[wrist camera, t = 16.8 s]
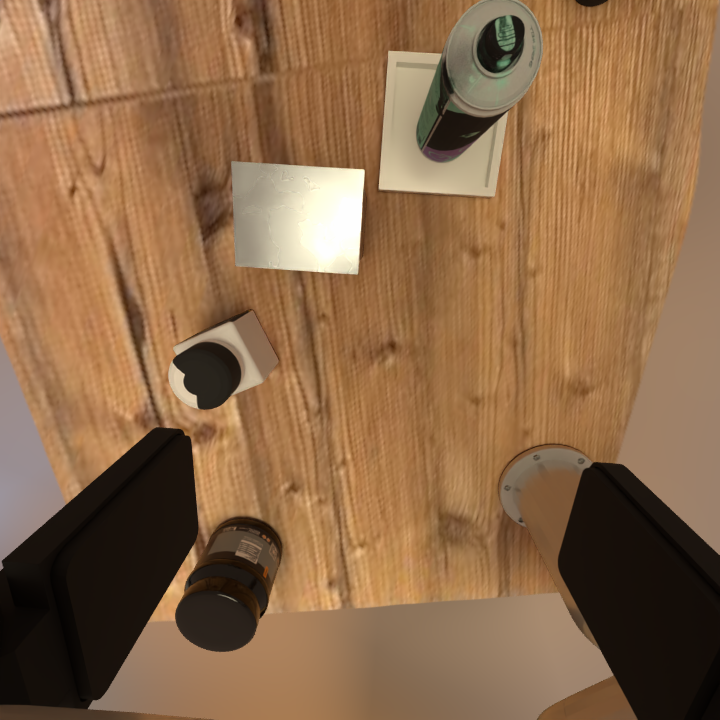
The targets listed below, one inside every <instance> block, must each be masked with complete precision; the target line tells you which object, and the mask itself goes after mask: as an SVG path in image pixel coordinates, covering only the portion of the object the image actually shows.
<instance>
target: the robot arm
mask: <svg viewBox="0 0 720 720" xmlns="http://www.w3.org/2000/svg"><path fill="white" fill-rule="evenodd" d="M498 493H499V498H500V502H501V504H502V506H503V508H504V510H505V512H506V513H507V515H508V516H509V517H510V518H511V519H512V520H513V521H515V522H516V523H517V524H519V525H521V526H524V527H526V528H527V529H528V531H529V533H530V535H531V537H532V539H533V541H534V543H535V545H536V547H537V549H538V551H539V553H540V555H541V557H542V559H543V561H544V563H545V565H546V567H547V569H548V571H549V573H550V575H551V577H552V579H553V581H554V583H555V585H556V587H557V589H558V591H559V592H560V594H561V596H562V598H563V600H564V602H565V604H566V607H567V609H568V611H569V613H570V615H571V616H572V619H573V620H574V622H575V623H576V625H577V626H578V628H579V629H580V630H581V632H582V633H583V634H584V635H585V637H586V638H588V639H589V640H590V641H591V642H592V643H593V644H594V645H595V646H596V647H597V648H599V649H600V650H601V652H602V654H603V656H604V658H605V659H606V661H607V663H608V665H609V667H610V669H611V671H612V673H613V674H614V675H613V676H612V677H610V678H608V679H605V680H603V681H601V682H599V683H597V684H595V685H592V686H590V687H588V688H586V689H584V690H582V691H579V692H577V693H575V694H573V695H571V696H569V697H567V698H565V699H563V700H561V701H559V702H557V703H555V704H554V705H552V706H550V707H548V708H547V709H546V710H544V711H543V712H542V713H541V714H540V715H539V717H538V718H537V720H720V555H718V553H716V552H715V551H714V550H713V549H712V548H711V547H710V546H709V545H708V544H707V543H706V542H705V541H704V540H703V539H702V538H701V537H700V536H698V535H697V534H696V533H695V532H694V531H693V530H692V529H691V528H690V527H689V526H688V525H687V524H686V523H685V522H684V521H683V520H681V519H680V518H679V517H678V516H677V515H676V514H675V513H674V512H673V511H672V510H671V509H670V508H669V507H668V506H667V505H666V504H664V503H663V502H662V501H661V500H660V499H659V498H658V497H657V496H656V495H655V494H654V493H653V492H652V491H651V490H650V489H649V488H648V487H646V486H645V485H644V484H643V483H642V482H641V481H640V480H639V479H638V478H637V477H636V476H635V475H634V474H633V473H632V472H631V471H630V470H629V469H627V468H626V467H625V466H624V465H622V464H613V463H601V462H594V463H593V462H592V461H591V460H590V459H589V458H588V457H587V456H586V455H584V454H583V453H582V452H580V451H578V450H576V449H574V448H571V447H568V446H564V445H544V446H539V447H535V448H533V449H530V450H528V451H525V452H524V453H522V454H521V455H519V456H517V457H516V458H515V459H514V460H513V461H512V462H511V463H510V464H509V465H508V466H507V467H506V469H505V470H504V472H503V474H502V476H501V478H500V482H499V491H498ZM197 534H198V515H197V503H196V492H195V480H194V468H193V456H192V444H191V439H190V437H189V436H185V434H184V432H183V430H181V429H173V428H160V427H156V428H154V429H153V430H152V431H150V432H149V433H148V434H147V435H146V436H145V437H144V438H142V439H141V440H140V441H139V442H138V443H137V444H136V445H134V446H133V447H132V448H131V449H130V450H129V451H127V452H126V453H125V454H124V455H123V456H122V457H121V458H119V459H118V460H117V461H116V462H115V463H114V464H113V465H111V466H110V467H109V468H108V469H107V470H106V471H105V472H103V473H102V474H101V475H100V476H99V477H98V478H96V479H95V480H94V481H93V482H92V483H91V484H90V485H88V486H87V487H86V488H85V489H84V490H83V491H82V492H80V493H79V494H78V495H77V496H76V497H75V498H74V499H72V500H71V501H70V502H69V503H68V504H67V505H65V506H64V507H63V508H62V509H61V510H60V511H59V512H58V513H56V514H55V515H54V516H53V517H52V518H51V519H49V520H48V521H47V522H46V523H45V524H44V525H43V526H42V527H40V528H39V529H38V530H37V531H36V532H34V533H33V534H32V535H31V536H30V537H29V538H28V539H26V540H25V541H24V542H23V543H22V544H21V545H20V546H18V548H16V549H15V550H14V551H13V552H12V553H11V554H9V555H8V556H7V557H6V558H5V559H3V560H2V564H3V567H4V568H3V569H2V570H1V571H0V720H212V719H201V718H190V717H189V718H188V717H179V716H167V715H156V714H144V713H134V712H119V711H104V710H90V709H88V707H89V706H90V704H91V702H92V701H93V700H98V699H100V698H101V697H102V696H103V695H104V694H105V692H106V691H107V690H108V688H109V686H110V684H111V683H112V681H113V680H114V678H115V676H116V675H117V673H118V671H119V670H120V668H121V666H122V664H123V663H124V661H125V659H126V658H127V656H128V654H129V653H130V651H131V649H132V648H133V646H134V644H135V643H136V641H137V639H138V637H139V636H140V634H141V632H142V631H143V629H144V627H145V626H146V624H147V622H148V621H149V619H150V617H151V616H152V614H153V612H154V610H155V609H156V607H157V605H158V604H159V602H160V600H161V599H162V597H163V595H164V594H165V592H166V590H167V589H168V587H169V585H170V583H171V582H172V580H173V578H174V577H175V575H176V573H177V572H178V570H179V568H180V567H181V565H182V563H183V562H184V560H185V558H186V556H187V555H188V553H189V551H190V550H191V548H192V546H193V545H194V543H195V541H196V538H197Z"/></svg>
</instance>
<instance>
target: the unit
mask: <svg viewBox="0 0 720 720" xmlns="http://www.w3.org/2000/svg"><path fill="white" fill-rule="evenodd" d="M231 162H232V189H233V216H234V243H235V266H242V267H256V268H271V269H285V270H299V271H314V272H328V273H342V274H357V275H358V274H359V261H360V260H361V258H362V257H363V248H364V233H365V217H366V201H367V197H366V194H365V190H364V176H365V170H360V169H344V168H328V167H313V166H297V165H281V164H265V163H250V162H234V161H231Z"/></svg>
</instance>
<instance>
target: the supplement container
mask: <svg viewBox="0 0 720 720" xmlns="http://www.w3.org/2000/svg"><path fill="white" fill-rule="evenodd" d="M281 557H282V549H281V544H280V541H279V539H278V537H277V536H276V535H275V533H274V532H273V531H272V530H271V529H270V528H268V527H267V526H266V525H264V524H262V523H260V522H258V521H254V520H250V519H235V520H231V521H228V522H226V523H224V524H222V525H221V526H219V527H218V528H217V529H216V530H215V531H214V533H213V534H212V536H211V538H210V540H209V542H208V544H207V546H206V548H205V550H204V552H203V553H202V555H201V557H200V559H199V561H198V563H197V564H196V566H195V568H194V570H193V571H192V572H191V574H190V575H189V577H188V579H187V581H186V584H185V589H184V595H183V597H182V599H181V600H180V602H179V604H178V606H177V609H176V613H175V619H176V623H177V626H178V628H179V630H180V632H181V633H182V634H183V636H184V637H185V638H186V639H187V640H189V641H190V642H191V643H193V644H195V645H197V646H198V647H201V648H203V649H206V650H210V651H216V652H226V651H233V650H237V649H239V648H241V647H243V646H245V645H246V644H248V643H249V642H250V641H251V639H252V638H253V636H254V635H255V632H256V628H257V626H258V622H259V619H260V618H261V617H262V616H263V615H264V613H265V611H266V609H267V607H268V603H269V596H270V593H271V590H272V586H273V583H274V580H275V576H276V573H277V570H278V567H279V564H280V561H281Z"/></svg>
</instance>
